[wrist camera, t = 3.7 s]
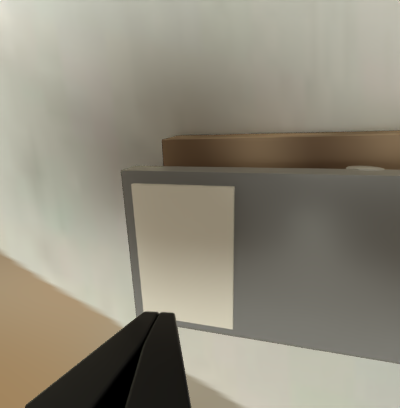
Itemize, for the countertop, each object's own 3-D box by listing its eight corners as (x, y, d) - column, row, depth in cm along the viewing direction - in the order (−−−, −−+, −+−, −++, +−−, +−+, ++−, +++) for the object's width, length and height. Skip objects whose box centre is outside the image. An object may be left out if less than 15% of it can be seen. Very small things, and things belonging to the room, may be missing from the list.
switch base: (469, 129, 15) (599, 133, 10) (434, 277, 18) (522, 344, 12) (177, 135, 17) (152, 142, 12) (183, 269, 19) (165, 325, 14)
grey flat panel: (695, 169, 8) (829, 185, 6) (605, 358, 10) (685, 416, 8) (143, 163, 13) (118, 171, 11) (154, 295, 15) (134, 322, 13)
